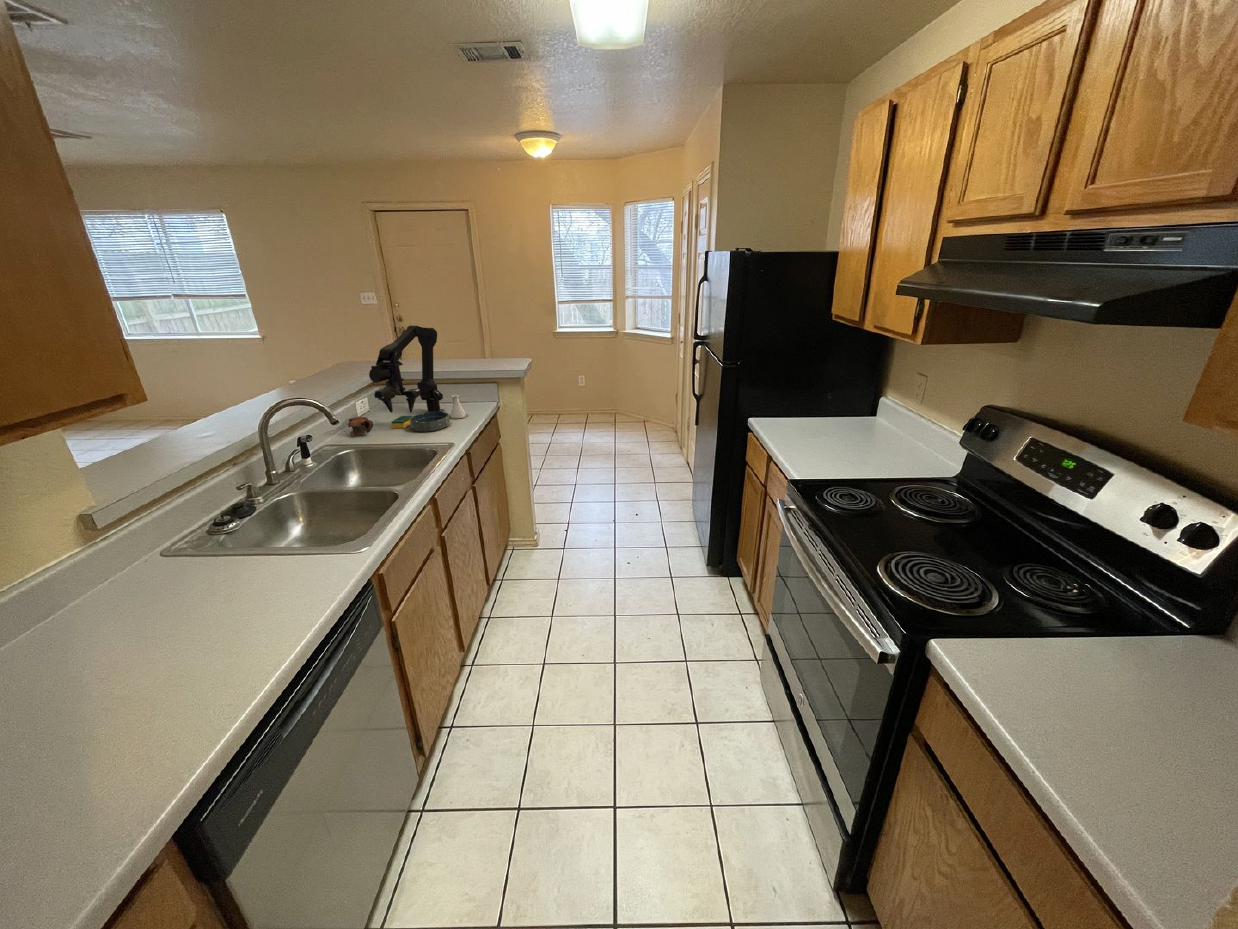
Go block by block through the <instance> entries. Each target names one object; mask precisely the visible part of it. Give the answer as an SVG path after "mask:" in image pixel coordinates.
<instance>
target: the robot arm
mask: <svg viewBox="0 0 1238 929" xmlns="http://www.w3.org/2000/svg"><path fill="white" fill-rule="evenodd" d="M415 338H417V342H418V343H419V345H420V347H421V380H420V381H418V382H417V384H416V386H417V388H410V389H408V390H406V387H404V384H403V382H404V378H403V377H402V374H401V369H400V367H401V366H403V365H404V364H403V362H401V361H400V359H401V357H402V356H403V351H404V350H405V349H406V348H407V346H409V344H410V343H411V342H412V341H413V340H414V339H415ZM437 341H438V331H437V330H436V329H435V328H434V327H422V326H419V325H414V324H413V325H411V324H410V325H408V326H407V327H406V329H405V330H404V331H402V333H400V335H399V336H398V337H397V338H396V339H395V340H394V341H393V342H392V343H389V344H387V345H385V346H383V347H381V348H380V349H379V351H378V353H379V354H378V356H377V360H376V363H375V365H370V366H371V368H370V370H369V372H368V377H369V379H370V380H371V381H372V382H373V383H376V384H377V383H378V384H379V383H381V382H384V381H385V386H384V387H383V388H380V389H377V390H375V391H374V393H373V397H374V399H378V401H380V402H382V403H383V404H384V405H385V407H386V408H387V410H388V411H389V413H391V414H392V413H393V403H392V402H393V401H392V399H394V398H396V396H405V400H406V401H407V404H408V410H409V413H410V414H412V413H413V410H414V406H415V403H416V400H417V398H418V397H420V399H421V400H422V401H425V403H426V408H427V411H426V412H444V408H441V404H440V401H442V400H443V399H444V395H443V393H442V392H441V391H440V390H439V389H438V385H437V382H436V381H435V378H434V348H435V345H436V344H437V343H438V342H437Z"/></svg>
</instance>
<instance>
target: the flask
mask: <svg viewBox="0 0 1238 929" xmlns="http://www.w3.org/2000/svg"><path fill="white" fill-rule="evenodd" d="M459 397H460V396H459V394H453V395H451V398H452V406H451V407H452V408H451V413H450V419H463V418H465V417H467V414H466V412H465V410H464V408H463V406H462V404H461V403H460V399H459Z"/></svg>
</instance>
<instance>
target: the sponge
mask: <svg viewBox="0 0 1238 929" xmlns="http://www.w3.org/2000/svg"><path fill="white" fill-rule="evenodd" d="M413 416H414V415H399V417H397V418H395V419H393V420H392V421H391V426H392V429H405V428H407V427H409V426H411V424H410V418H411V417H413Z"/></svg>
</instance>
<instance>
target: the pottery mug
mask: <svg viewBox="0 0 1238 929" xmlns="http://www.w3.org/2000/svg"><path fill="white" fill-rule="evenodd" d="M348 421H349V422H348V423H347V424H346V426H347V427H348V428H351V431H349V435H350V437H351V438H353V437H363V436H366V433H368V434H369V433H370V432H371V431H372V429H373V427H374V422H373V420H370V419H369V418H368V417H365V416H357V417H352V418H349V419H348Z"/></svg>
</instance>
